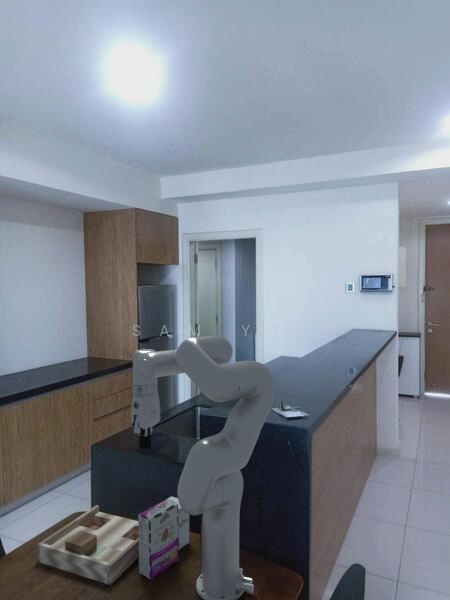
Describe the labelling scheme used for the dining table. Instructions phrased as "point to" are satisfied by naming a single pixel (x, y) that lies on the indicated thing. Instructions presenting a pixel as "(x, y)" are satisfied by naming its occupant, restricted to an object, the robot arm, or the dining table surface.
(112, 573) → the tray
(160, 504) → the candy bar box
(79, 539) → the walnut block
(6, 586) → the dining table surface
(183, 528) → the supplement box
